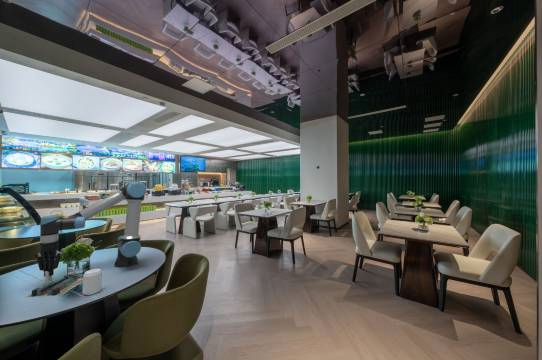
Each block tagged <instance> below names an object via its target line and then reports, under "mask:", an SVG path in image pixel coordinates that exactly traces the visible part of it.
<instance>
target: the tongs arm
mask: <svg viewBox="0 0 542 360" xmlns="http://www.w3.org/2000/svg"><path fill="white" fill-rule="evenodd" d="M76 274H77V272H70V273H68V274H65V275H64V276H63V277H59V278H57V279H55V280H52V281H50V282H49V283H48V284H45V285H43V286H40V287H37V288H34V289H32V290H31V293H30V294H31V296H36V297H39V296H38V295H42V294H44V293H46V292H48V289H50V288H52V287H54V286H56V285H58V284H59V283H61V282H63V281H65V280H66V279H68V278H69V276H73V275H75V276H76Z"/></svg>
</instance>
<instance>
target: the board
mask: <svg viewBox="0 0 542 360" xmlns="http://www.w3.org/2000/svg"><path fill="white" fill-rule="evenodd" d="M81 283H82V284H83V277H79V278H77V281H76V282H74V283H73V284H71V285H69V286H68V287H66V288H64V289H62V290H61V291H60V293H58V294H57V295H56V296H60V295H64V294H65V293H67V292H68V291H70V290H72V289H73V288H76V287H78V285H80V284H81ZM47 293H48V292H46V293H44V294H42V295H38V296H31V294H32V293H29V295H27V296H25V298H34V297H35V298H36V297H45V296H46V297H47ZM48 296H50V295H48Z"/></svg>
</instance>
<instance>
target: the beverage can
mask: <svg viewBox="0 0 542 360" xmlns="http://www.w3.org/2000/svg"><path fill="white" fill-rule="evenodd" d="M102 275H103V272H102V269H101V268H92V269H89V270H86V271H85V272H84V274H83V275H82V278H83V282H82V294H84V296H91V295H95V294H98V293H99V292H100V291H101V290H102V280H103V279H102V277H103V276H102Z"/></svg>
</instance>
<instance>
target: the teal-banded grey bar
mask: <svg viewBox="0 0 542 360" xmlns="http://www.w3.org/2000/svg"><path fill="white" fill-rule="evenodd" d="M77 279H78V275H76V274H75V275H73V276H68V279H66V280H65V281H63V282H61V283H59V284H58V285H56V286H54V287H52V288H50V289H48V293H47V296H48V295H49V296H58V295H57V294H58V293H60V291H61V290H62V289H64V288H66V287H68V286H69V285H71V284H73V283H74V282H76V281H77ZM47 296H46V297H47Z"/></svg>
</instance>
